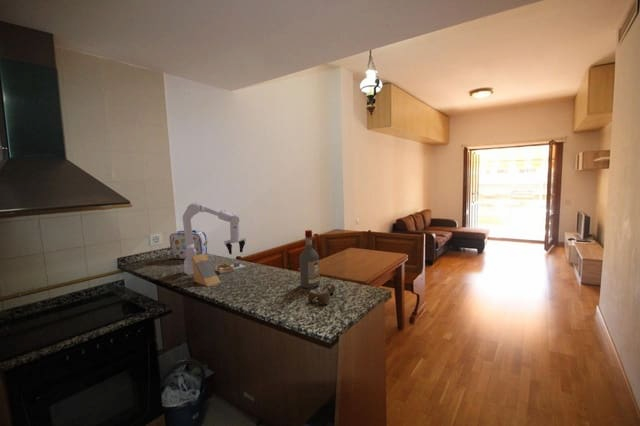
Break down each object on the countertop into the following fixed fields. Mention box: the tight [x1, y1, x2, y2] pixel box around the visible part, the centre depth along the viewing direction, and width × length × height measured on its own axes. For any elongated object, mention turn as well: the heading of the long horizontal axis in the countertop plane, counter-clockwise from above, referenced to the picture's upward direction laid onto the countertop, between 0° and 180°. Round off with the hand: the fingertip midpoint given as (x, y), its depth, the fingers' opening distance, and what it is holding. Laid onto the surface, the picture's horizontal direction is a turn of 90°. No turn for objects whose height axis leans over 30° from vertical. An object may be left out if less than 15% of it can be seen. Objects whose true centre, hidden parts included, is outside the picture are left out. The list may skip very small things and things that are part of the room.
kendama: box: [307, 283, 336, 305], centre depth 148 cm, size 6×10×20 cm
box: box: [214, 262, 235, 275], centre depth 198 cm, size 10×8×3 cm
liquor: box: [299, 229, 321, 289], centre depth 166 cm, size 9×9×30 cm
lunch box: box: [169, 229, 209, 260], centre depth 230 cm, size 28×10×22 cm, turn 81°
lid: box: [231, 261, 246, 271], centre depth 207 cm, size 10×8×3 cm
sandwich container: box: [192, 254, 221, 287], centre depth 177 cm, size 9×15×15 cm, turn 50°
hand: (235, 253), depth 206 cm, fingers open, 7 cm apart
